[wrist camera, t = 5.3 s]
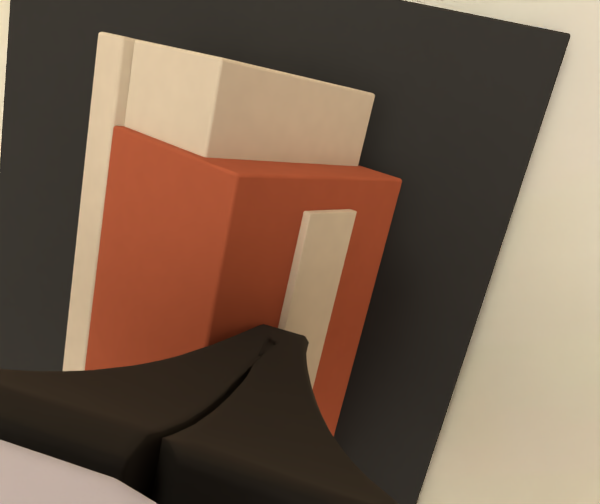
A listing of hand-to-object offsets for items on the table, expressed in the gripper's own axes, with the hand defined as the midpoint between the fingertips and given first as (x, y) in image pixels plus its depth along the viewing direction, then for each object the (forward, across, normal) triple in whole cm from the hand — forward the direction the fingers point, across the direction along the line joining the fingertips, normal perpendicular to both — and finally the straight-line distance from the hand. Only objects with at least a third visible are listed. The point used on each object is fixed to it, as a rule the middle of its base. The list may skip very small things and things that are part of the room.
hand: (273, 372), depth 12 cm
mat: (+6, +3, +1) cm, 7 cm away
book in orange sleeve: (+5, 0, 0) cm, 5 cm away
